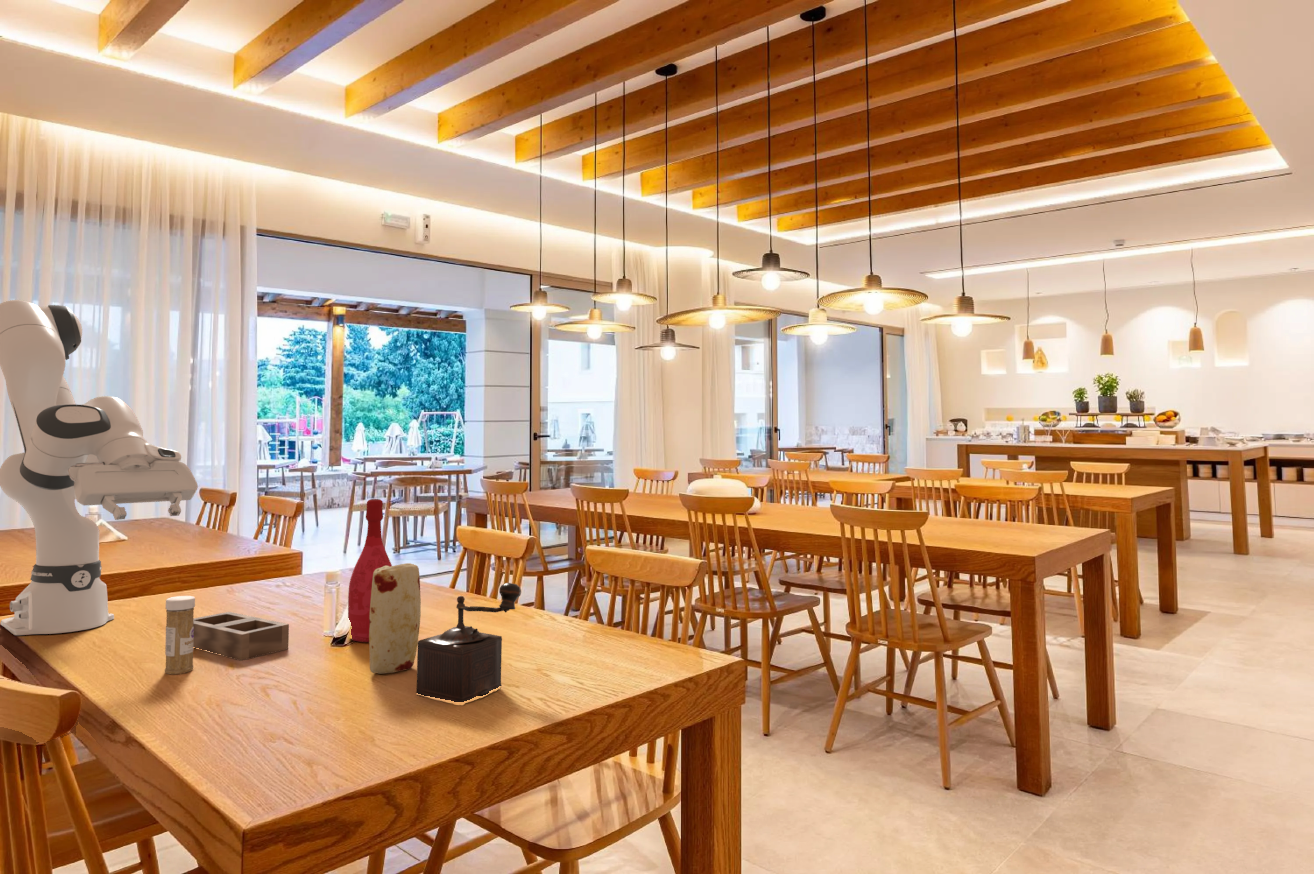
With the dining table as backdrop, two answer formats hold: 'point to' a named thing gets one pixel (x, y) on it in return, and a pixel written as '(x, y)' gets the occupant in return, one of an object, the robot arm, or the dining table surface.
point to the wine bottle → (366, 573)
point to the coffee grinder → (463, 656)
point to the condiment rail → (239, 635)
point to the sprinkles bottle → (179, 634)
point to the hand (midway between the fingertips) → (149, 515)
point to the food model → (394, 618)
